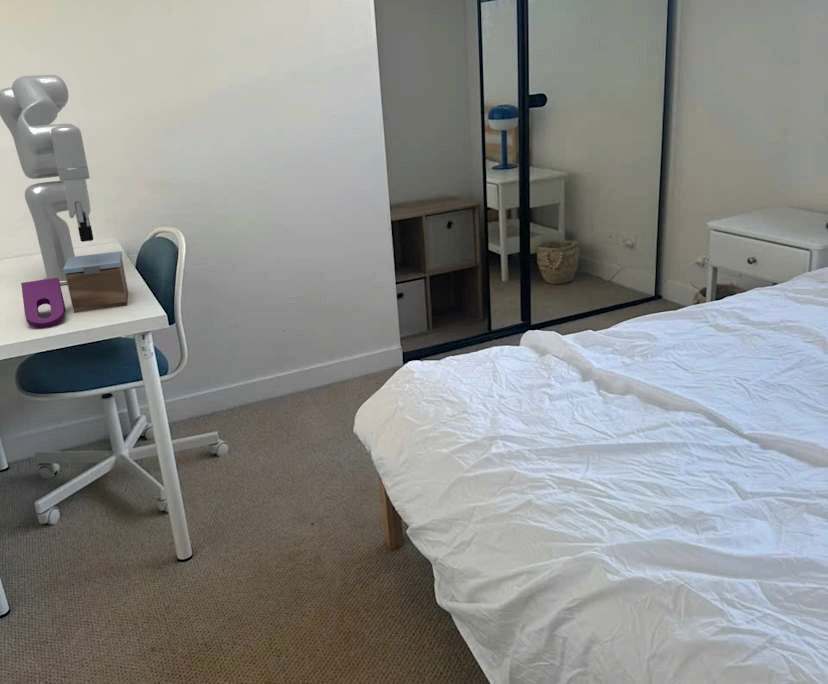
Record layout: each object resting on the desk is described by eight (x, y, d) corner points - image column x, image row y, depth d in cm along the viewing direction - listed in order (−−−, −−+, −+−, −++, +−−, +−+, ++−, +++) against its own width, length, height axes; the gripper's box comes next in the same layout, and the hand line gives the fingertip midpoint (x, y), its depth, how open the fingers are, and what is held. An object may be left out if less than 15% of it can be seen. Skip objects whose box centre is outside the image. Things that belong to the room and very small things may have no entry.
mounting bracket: (70, 342, 202) (64, 300, 213) (65, 319, 196) (58, 277, 207) (32, 348, 198) (27, 305, 210) (25, 325, 193) (21, 282, 204)
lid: (70, 263, 218) (68, 257, 217) (122, 257, 222) (121, 251, 221) (64, 277, 202) (62, 270, 201) (120, 270, 206) (119, 263, 206)
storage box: (78, 297, 221) (71, 262, 217) (128, 291, 225) (121, 256, 221) (73, 312, 207) (65, 274, 203) (126, 305, 211) (119, 268, 207)
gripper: (61, 171, 205) (75, 236, 212) (55, 179, 192) (70, 248, 199) (90, 169, 207) (103, 233, 214) (86, 176, 194) (100, 245, 201)
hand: (87, 240), depth 206 cm, fingers closed
